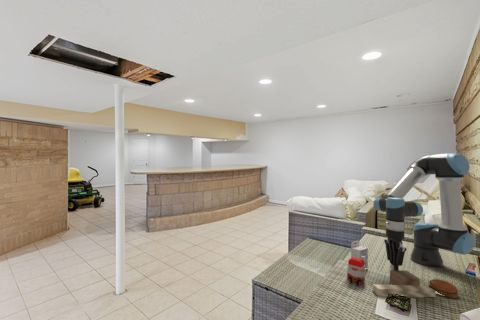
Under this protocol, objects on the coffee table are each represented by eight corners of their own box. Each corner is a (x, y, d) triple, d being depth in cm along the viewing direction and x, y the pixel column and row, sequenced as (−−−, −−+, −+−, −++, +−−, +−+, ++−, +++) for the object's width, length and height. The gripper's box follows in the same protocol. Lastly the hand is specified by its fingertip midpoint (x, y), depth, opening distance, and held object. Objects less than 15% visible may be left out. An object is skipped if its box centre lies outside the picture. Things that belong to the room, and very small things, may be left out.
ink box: (360, 272, 117) (359, 244, 118) (350, 269, 121) (350, 241, 122) (368, 269, 122) (367, 242, 123) (359, 266, 126) (358, 239, 127)
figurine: (344, 281, 107) (344, 256, 108) (349, 276, 112) (349, 252, 113) (364, 287, 101) (363, 261, 102) (368, 282, 107) (368, 257, 107)
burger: (464, 299, 94) (463, 288, 94) (441, 298, 94) (441, 287, 94) (443, 287, 104) (443, 277, 104) (423, 286, 104) (423, 276, 104)
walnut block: (406, 283, 106) (406, 270, 107) (420, 292, 98) (419, 278, 99) (389, 282, 107) (389, 270, 107) (401, 291, 99) (401, 278, 99)
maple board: (427, 292, 98) (427, 285, 99) (435, 297, 94) (435, 290, 95) (373, 291, 99) (373, 284, 99) (378, 296, 95) (378, 288, 95)
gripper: (379, 225, 116) (378, 271, 115) (396, 232, 103) (395, 284, 102) (393, 226, 116) (393, 272, 115) (412, 233, 103) (412, 284, 102)
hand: (394, 277), depth 109 cm, fingers closed
